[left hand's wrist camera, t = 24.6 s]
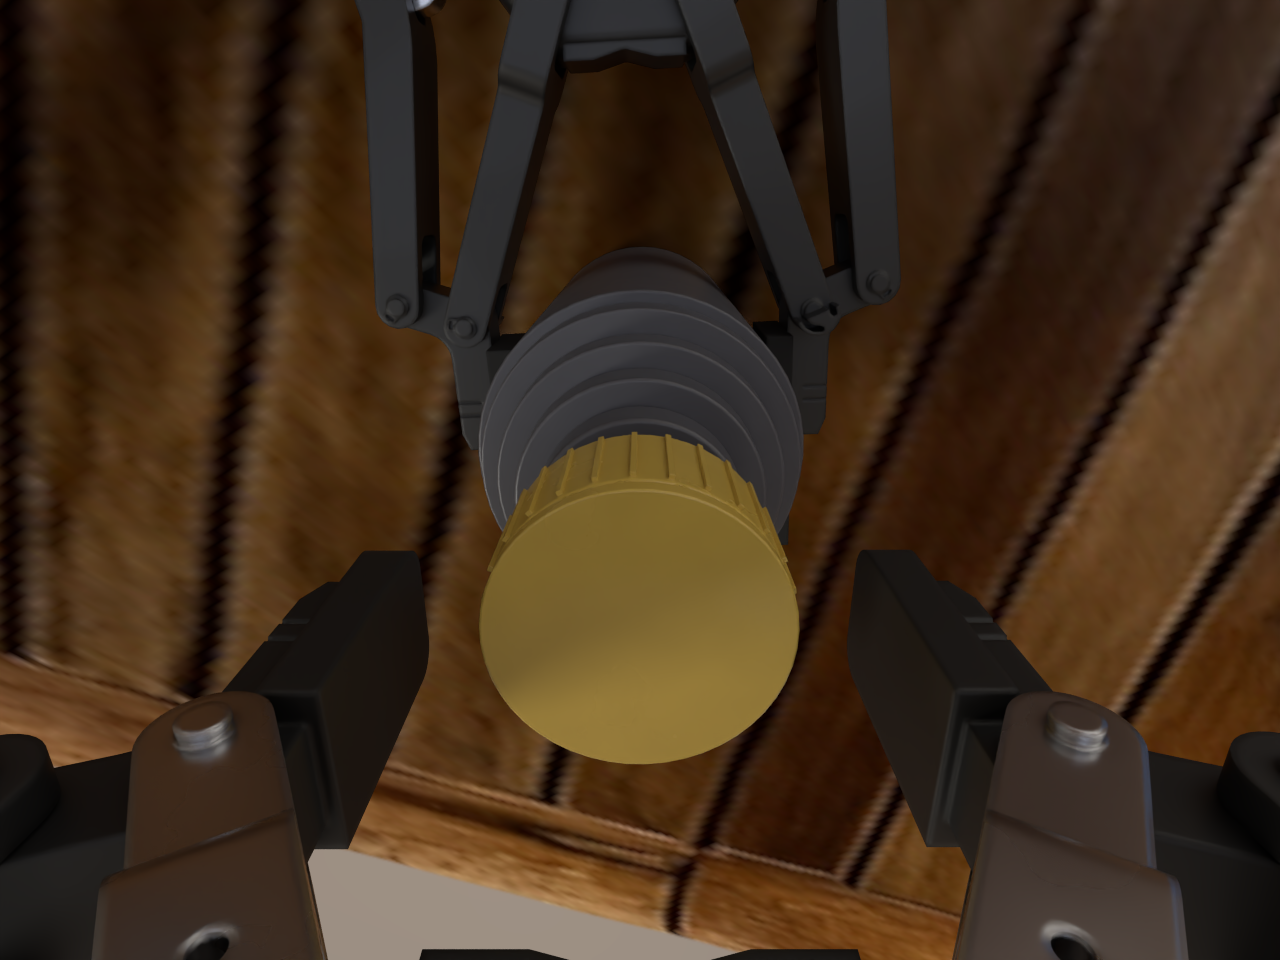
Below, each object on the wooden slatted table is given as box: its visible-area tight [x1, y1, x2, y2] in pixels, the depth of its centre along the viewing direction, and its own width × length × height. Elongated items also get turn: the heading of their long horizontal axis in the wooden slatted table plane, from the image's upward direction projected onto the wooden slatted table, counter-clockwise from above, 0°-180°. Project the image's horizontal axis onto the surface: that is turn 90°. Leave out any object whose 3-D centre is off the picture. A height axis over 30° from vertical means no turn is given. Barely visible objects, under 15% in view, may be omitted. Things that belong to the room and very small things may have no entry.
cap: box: [479, 432, 799, 764], centre depth 11 cm, size 4×4×2 cm
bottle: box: [479, 247, 803, 535], centre depth 20 cm, size 7×7×20 cm
